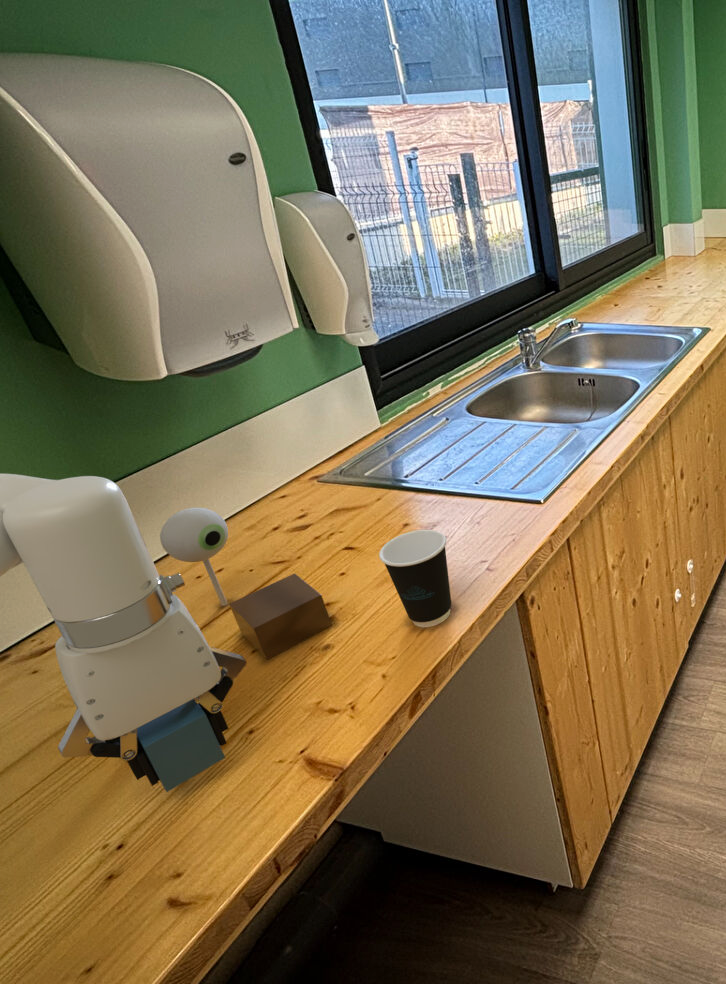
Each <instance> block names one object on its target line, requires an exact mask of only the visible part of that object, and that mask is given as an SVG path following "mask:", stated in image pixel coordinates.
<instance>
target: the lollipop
mask: <svg viewBox="0 0 726 984" xmlns="http://www.w3.org/2000/svg"><path fill="white" fill-rule="evenodd" d="M228 538H229V529H228V525H227V522H226V521H225V519H224V518H223V517H222V516H221V515H220V514H219V513H217V512H216V511H213V510H212V509H209V508H206V507H190V508H189V507H188V508H185V509H182V510H180V511H179V510H178V511H177V512H175V513H174V514H172V515H171V516H169V518H167V520H166V521H165V522H164V524H163V526H162V527H161V530H160V534H159V540H160V543H161V547H162V549H163V550H164V551H165V553H166V554H168V555H169V556H171V558H174V559H176V560H178V561H181V562H185V563H198V562H202V563H203V565H204V567H205V569H206V572H207V574H208V576H209V579H210V580H211V584H212V586H213V588H214V590H215V593H216V595H217V598H218V599H219V602H220V605H221V607H225V606H227V605H228V601H227V598H226V597H225V594H224V591H223V589H222V587H221V584H220V582H219V579H218V578H217V575H216V573H215V570H214V569H213V565H212V563H211V561H210V559H211V558H213V557H214V556H216V555H217V554H219V553H220V552H221V551H222V550H223V548H224V547H225V546H226V544H227V541H228Z"/></svg>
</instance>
